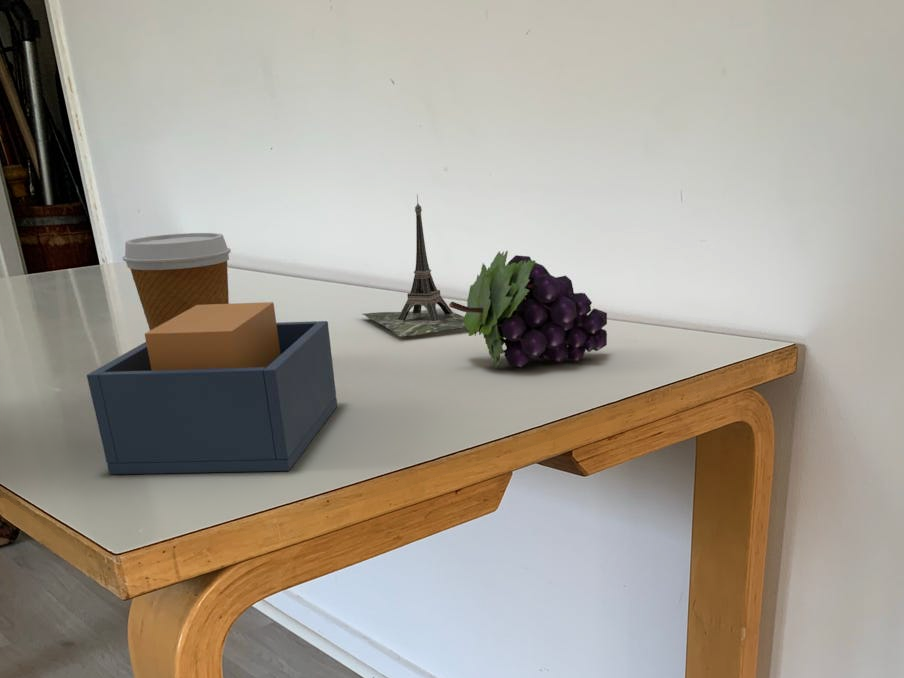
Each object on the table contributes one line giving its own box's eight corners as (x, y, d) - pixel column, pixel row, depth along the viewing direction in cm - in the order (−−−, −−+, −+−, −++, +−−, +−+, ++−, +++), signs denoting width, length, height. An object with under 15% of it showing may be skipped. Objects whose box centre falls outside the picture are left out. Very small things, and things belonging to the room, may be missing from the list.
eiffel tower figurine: (359, 318, 116) (347, 194, 110) (439, 309, 119) (432, 188, 113) (400, 340, 104) (389, 202, 97) (488, 329, 107) (483, 194, 101)
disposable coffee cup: (189, 389, 89) (163, 246, 83) (126, 377, 94) (97, 242, 88) (269, 367, 95) (250, 233, 90) (205, 357, 100) (184, 231, 95)
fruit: (605, 398, 91) (452, 374, 86) (570, 356, 99) (428, 332, 94) (642, 288, 86) (480, 255, 81) (601, 253, 94) (452, 221, 89)
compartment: (109, 474, 68) (86, 374, 64) (188, 410, 82) (173, 325, 79) (289, 471, 67) (275, 369, 63) (337, 406, 81) (327, 320, 78)
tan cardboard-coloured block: (167, 450, 69) (144, 333, 66) (214, 408, 79) (196, 304, 75) (250, 448, 69) (232, 330, 65) (287, 406, 79) (273, 302, 75)
